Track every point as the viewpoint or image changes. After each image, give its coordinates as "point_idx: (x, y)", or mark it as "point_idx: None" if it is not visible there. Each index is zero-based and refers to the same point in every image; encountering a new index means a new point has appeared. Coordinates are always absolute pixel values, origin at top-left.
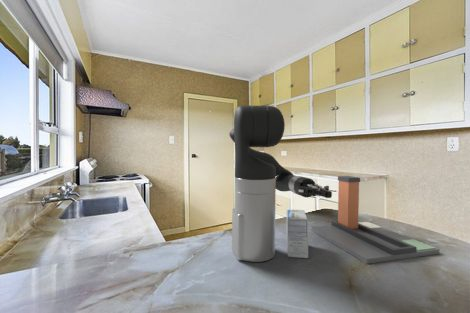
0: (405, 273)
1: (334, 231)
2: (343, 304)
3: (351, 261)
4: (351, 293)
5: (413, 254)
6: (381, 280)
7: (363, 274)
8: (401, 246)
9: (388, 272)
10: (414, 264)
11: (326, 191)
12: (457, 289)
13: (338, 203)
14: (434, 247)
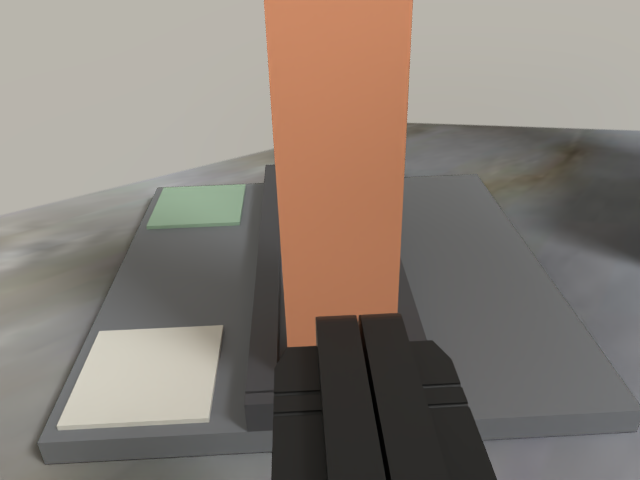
0: None
1: (482, 324)
2: (610, 133)
3: (518, 198)
4: (581, 143)
5: None
6: (482, 156)
7: (516, 168)
8: None
9: (438, 168)
10: None
11: (404, 333)
12: None
13: (400, 230)
14: (163, 188)
